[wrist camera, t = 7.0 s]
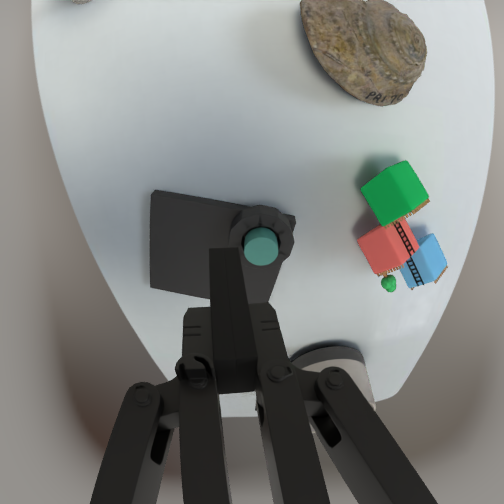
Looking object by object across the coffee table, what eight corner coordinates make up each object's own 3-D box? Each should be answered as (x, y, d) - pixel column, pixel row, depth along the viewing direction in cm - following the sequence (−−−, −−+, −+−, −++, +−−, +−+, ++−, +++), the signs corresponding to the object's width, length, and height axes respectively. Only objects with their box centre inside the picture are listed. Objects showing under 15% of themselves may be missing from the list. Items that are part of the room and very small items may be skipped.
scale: (153, 281, 32) (146, 298, 30) (155, 180, 25) (144, 192, 23) (265, 301, 34) (266, 320, 31) (297, 207, 27) (302, 222, 24)
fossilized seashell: (388, 131, 20) (413, 114, 13) (283, 72, 21) (269, 37, 14) (429, 52, 16) (455, 21, 10) (332, 0, 17) (333, -42, 11)
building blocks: (376, 186, 30) (424, 274, 28) (333, 207, 26) (389, 311, 25) (422, 152, 23) (476, 256, 21) (385, 167, 19) (452, 298, 18)
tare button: (241, 251, 26) (240, 262, 25) (248, 224, 25) (247, 234, 23) (272, 257, 27) (273, 268, 25) (280, 230, 25) (282, 241, 24)
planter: (317, 387, 47) (323, 436, 38) (269, 366, 42) (270, 424, 34) (374, 356, 41) (389, 409, 33) (333, 328, 37) (347, 393, 28)
